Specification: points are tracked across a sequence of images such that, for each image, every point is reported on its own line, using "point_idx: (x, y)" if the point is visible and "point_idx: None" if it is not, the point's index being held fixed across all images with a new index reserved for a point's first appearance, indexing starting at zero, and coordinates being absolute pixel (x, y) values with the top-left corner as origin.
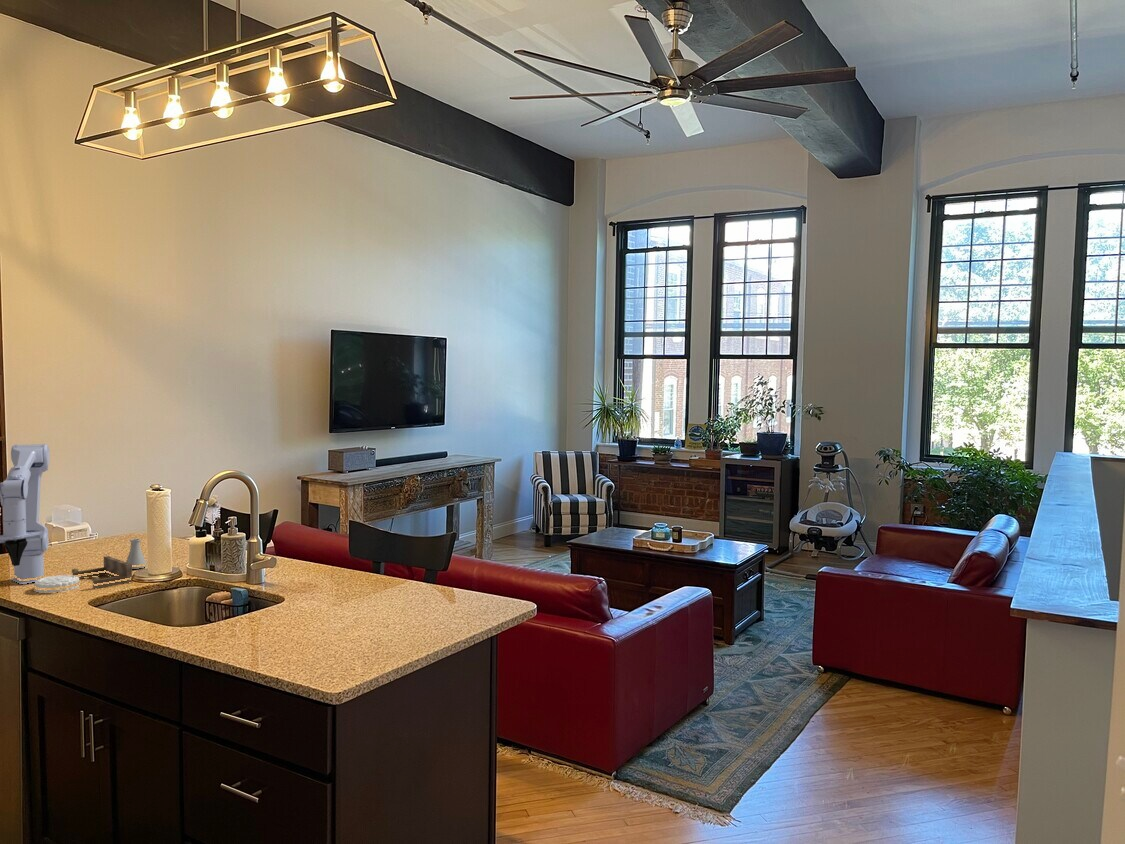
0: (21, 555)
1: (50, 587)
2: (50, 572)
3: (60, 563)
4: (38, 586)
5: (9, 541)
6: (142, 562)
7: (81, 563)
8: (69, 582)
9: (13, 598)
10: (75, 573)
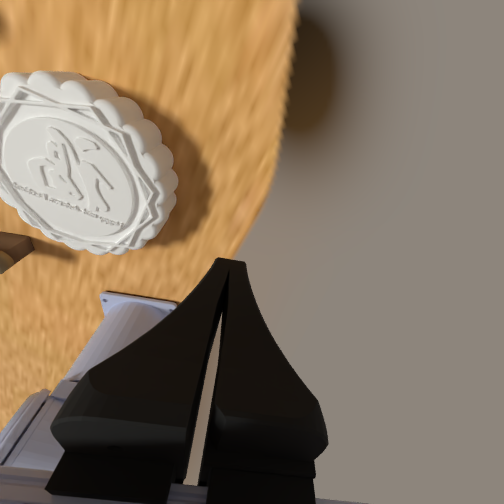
0: (190, 293)
1: (125, 110)
2: None
3: (54, 387)
4: (163, 177)
5: (272, 501)
6: None
7: (9, 365)
8: (21, 75)
9: (269, 168)
10: (2, 249)
